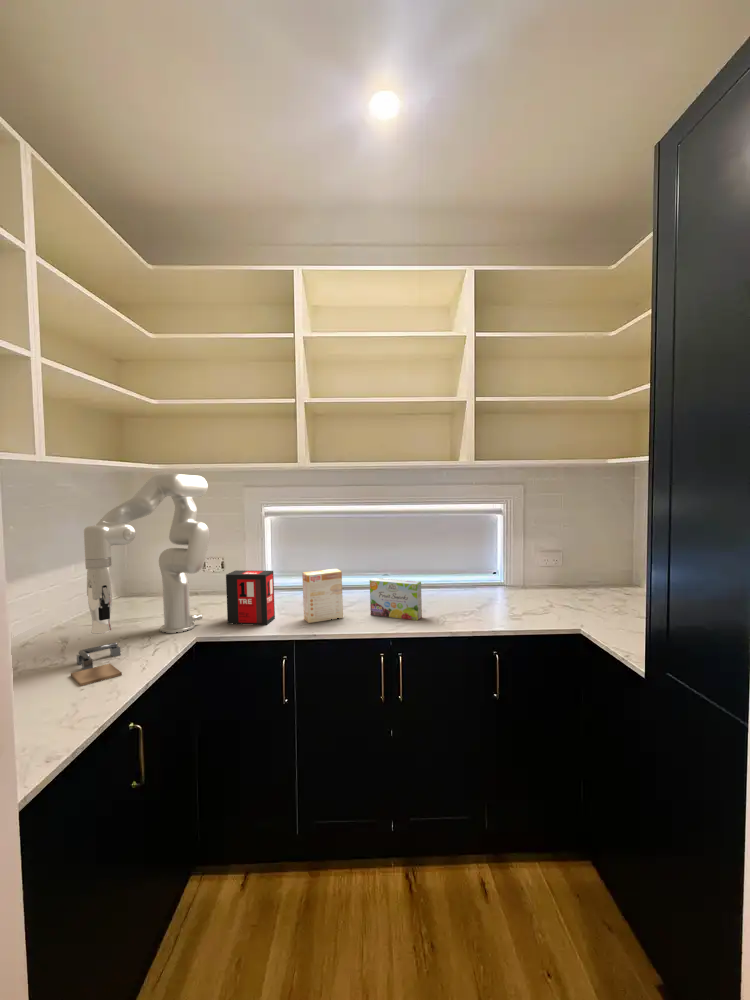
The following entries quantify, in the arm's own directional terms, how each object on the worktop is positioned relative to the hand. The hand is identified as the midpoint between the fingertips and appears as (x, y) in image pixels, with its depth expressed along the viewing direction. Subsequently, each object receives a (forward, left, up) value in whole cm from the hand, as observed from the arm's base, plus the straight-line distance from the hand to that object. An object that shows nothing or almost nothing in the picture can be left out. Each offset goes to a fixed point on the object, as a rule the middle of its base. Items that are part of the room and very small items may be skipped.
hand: (101, 617), depth 168 cm
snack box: (-100, +38, -14) cm, 108 cm away
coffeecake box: (-78, +18, -14) cm, 81 cm away
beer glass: (0, 0, -5) cm, 5 cm away
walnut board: (+6, +15, -14) cm, 21 cm away
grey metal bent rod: (+1, +3, -14) cm, 14 cm away
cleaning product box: (-56, -1, -14) cm, 57 cm away
